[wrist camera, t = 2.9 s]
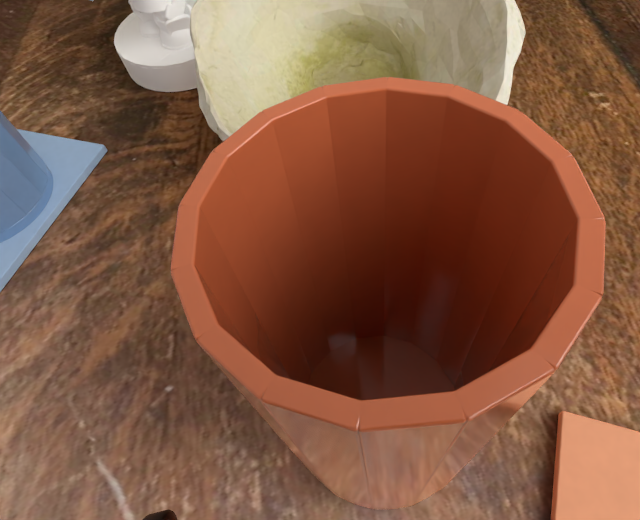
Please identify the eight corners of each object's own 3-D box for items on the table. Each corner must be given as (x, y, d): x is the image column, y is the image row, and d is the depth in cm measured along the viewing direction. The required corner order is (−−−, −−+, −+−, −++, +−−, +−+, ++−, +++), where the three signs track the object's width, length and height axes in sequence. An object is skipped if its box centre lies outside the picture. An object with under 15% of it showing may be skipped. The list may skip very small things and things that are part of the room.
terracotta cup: (449, 539, 16) (598, 509, 5) (269, 473, 18) (91, 346, 7) (480, 357, 19) (610, 100, 8) (325, 317, 21) (264, 61, 10)
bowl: (206, 250, 24) (110, 84, 15) (248, 75, 31) (199, -101, 23) (512, 249, 22) (594, 58, 13) (479, 63, 29) (519, -135, 21)
